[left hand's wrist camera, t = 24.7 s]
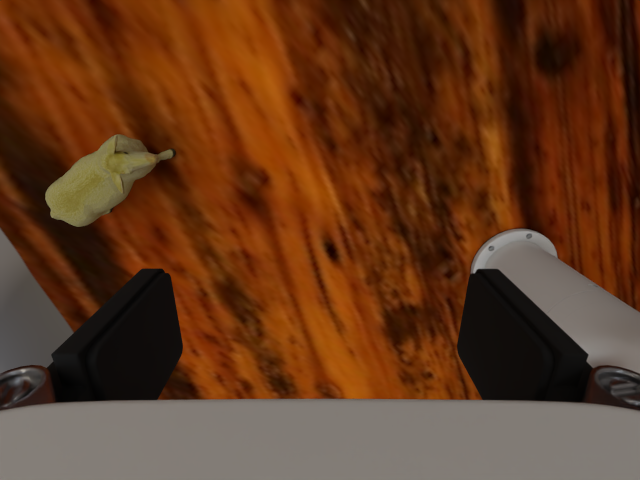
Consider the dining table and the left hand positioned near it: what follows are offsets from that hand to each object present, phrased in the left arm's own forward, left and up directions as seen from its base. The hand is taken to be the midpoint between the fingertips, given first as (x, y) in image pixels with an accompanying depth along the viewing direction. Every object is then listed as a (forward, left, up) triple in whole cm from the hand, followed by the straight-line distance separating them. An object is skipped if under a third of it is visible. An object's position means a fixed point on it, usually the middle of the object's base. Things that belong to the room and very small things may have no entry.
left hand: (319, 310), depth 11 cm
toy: (+18, +18, -40) cm, 47 cm away
